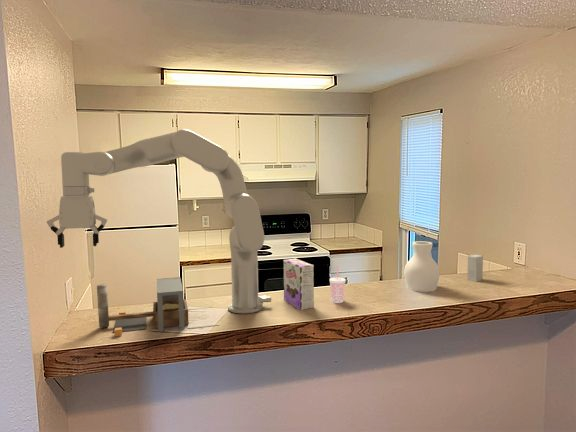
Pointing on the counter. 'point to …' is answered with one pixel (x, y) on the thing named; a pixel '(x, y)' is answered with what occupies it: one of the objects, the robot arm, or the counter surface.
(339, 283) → the beverage cup
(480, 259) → the skincare box
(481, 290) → the counter surface
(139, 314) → the wooden tray with post
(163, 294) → the tunnel
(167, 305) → the shard
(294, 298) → the candy box
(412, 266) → the vase
